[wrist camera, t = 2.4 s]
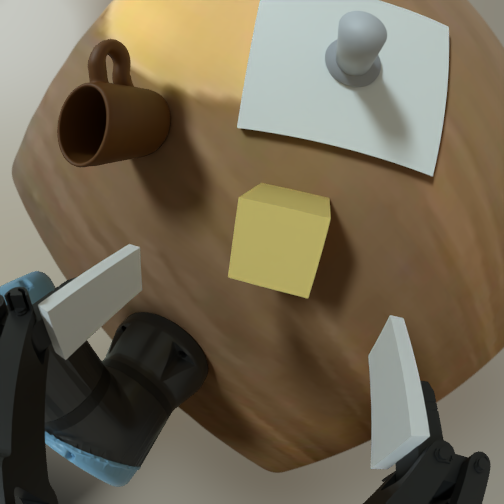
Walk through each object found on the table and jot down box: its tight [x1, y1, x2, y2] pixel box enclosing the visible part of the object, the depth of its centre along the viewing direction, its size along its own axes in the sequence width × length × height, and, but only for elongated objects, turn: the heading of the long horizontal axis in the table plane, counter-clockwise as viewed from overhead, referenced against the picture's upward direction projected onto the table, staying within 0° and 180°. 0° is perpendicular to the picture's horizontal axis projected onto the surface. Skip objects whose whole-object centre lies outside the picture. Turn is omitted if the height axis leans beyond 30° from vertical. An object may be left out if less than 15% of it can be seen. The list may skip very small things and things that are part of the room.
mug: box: [57, 39, 171, 167], centre depth 20 cm, size 12×8×9 cm, turn 172°
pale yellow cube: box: [228, 183, 331, 298], centre depth 23 cm, size 6×6×7 cm
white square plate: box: [237, 0, 449, 176], centre depth 15 cm, size 18×16×9 cm
